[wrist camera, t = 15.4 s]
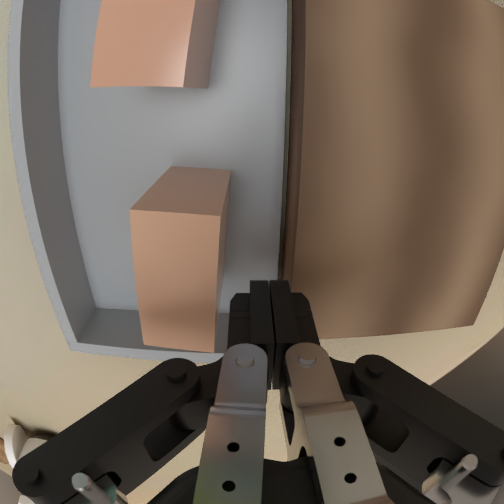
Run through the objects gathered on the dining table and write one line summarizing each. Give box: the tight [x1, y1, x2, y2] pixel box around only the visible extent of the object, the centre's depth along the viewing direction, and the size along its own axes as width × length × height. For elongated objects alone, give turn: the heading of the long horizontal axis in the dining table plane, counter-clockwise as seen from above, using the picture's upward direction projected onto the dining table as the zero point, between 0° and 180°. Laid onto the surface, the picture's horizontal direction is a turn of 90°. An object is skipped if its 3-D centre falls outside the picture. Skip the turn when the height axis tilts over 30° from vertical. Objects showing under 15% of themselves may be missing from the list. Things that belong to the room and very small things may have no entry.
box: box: [8, 0, 287, 363], centre depth 14 cm, size 12×22×4 cm, turn 179°
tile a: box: [90, 0, 221, 89], centre depth 9 cm, size 6×6×3 cm
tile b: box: [130, 166, 232, 353], centre depth 14 cm, size 6×6×3 cm
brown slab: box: [281, 0, 504, 339], centre depth 14 cm, size 12×18×4 cm, turn 179°
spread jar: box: [4, 424, 55, 504], centre depth 27 cm, size 12×11×12 cm
